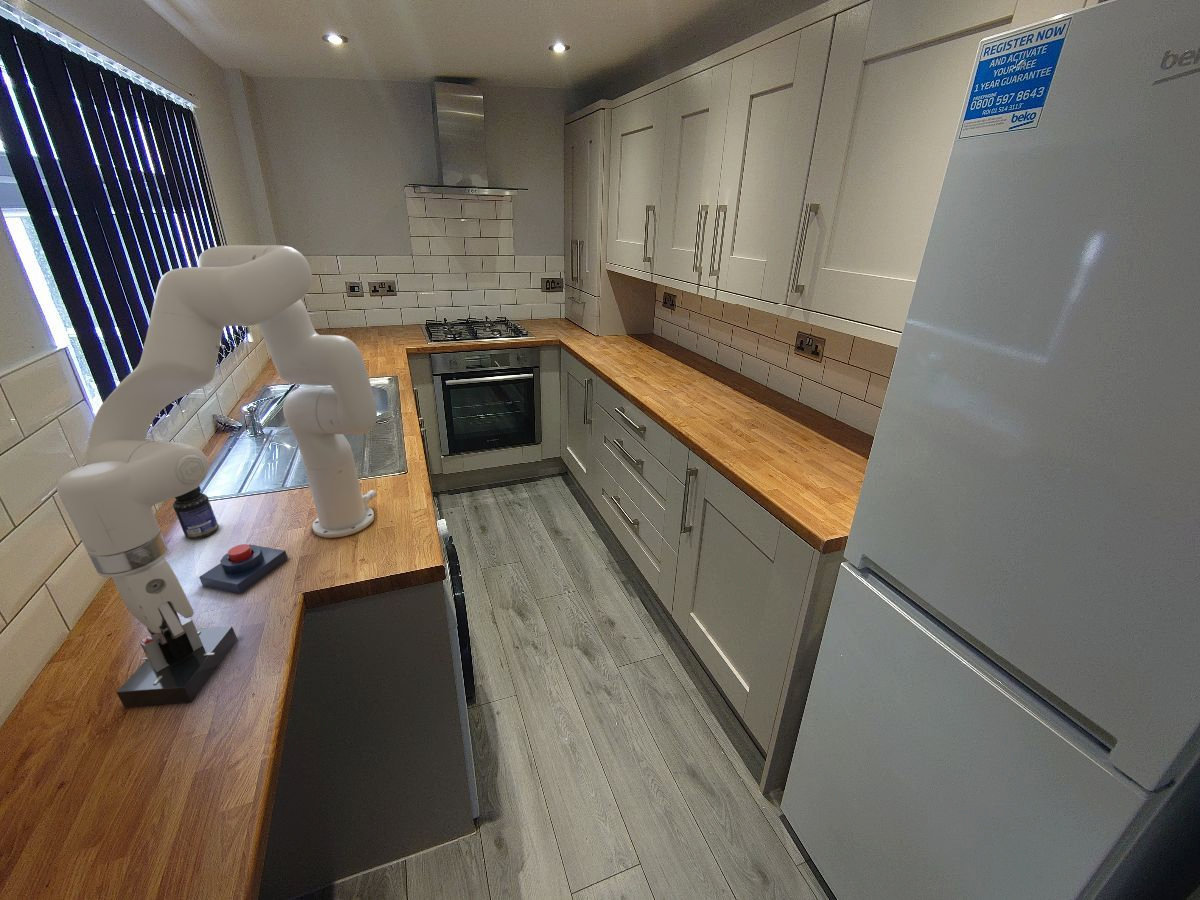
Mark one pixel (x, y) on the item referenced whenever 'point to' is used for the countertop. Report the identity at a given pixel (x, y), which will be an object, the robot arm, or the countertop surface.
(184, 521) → the pill bottle
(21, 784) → the countertop surface
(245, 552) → the button
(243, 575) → the button box
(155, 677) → the base
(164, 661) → the tap lever
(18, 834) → the countertop surface
